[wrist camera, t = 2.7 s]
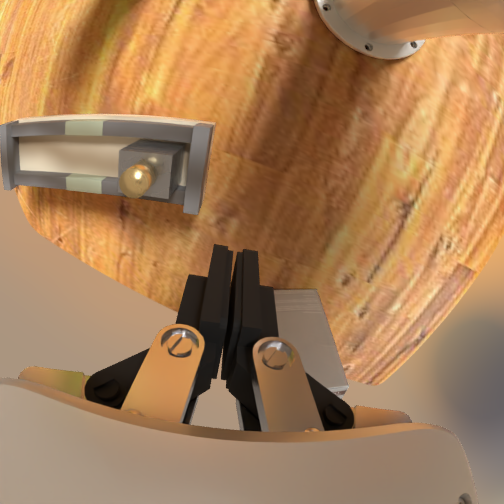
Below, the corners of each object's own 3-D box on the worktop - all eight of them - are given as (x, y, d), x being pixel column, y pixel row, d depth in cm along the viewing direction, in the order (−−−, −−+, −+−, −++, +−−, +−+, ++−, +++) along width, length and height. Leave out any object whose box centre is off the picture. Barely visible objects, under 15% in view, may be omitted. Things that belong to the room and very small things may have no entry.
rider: (139, 139, 20) (106, 157, 15) (185, 144, 21) (163, 163, 16) (137, 175, 22) (106, 203, 17) (181, 181, 22) (160, 210, 17)
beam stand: (42, 112, 22) (-1, 125, 16) (221, 118, 24) (210, 127, 18) (42, 166, 26) (4, 189, 20) (210, 184, 28) (197, 215, 22)
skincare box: (253, 321, 39) (255, 424, 26) (256, 282, 35) (258, 396, 22) (312, 321, 39) (331, 420, 26) (321, 283, 35) (351, 390, 22)
